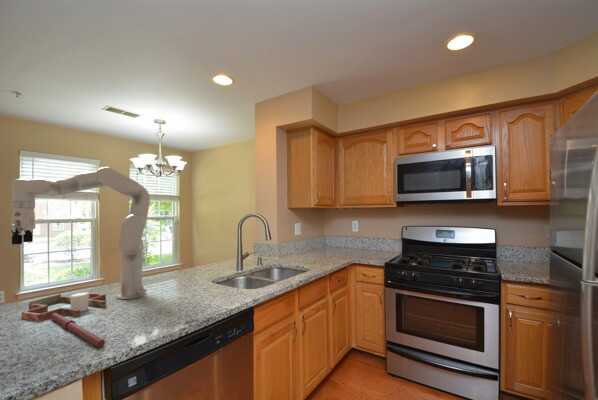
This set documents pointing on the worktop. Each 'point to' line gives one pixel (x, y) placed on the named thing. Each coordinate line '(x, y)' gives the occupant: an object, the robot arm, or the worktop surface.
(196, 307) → the worktop surface
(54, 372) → the worktop surface
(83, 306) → the white cylinder
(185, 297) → the worktop surface
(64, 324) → the red collared rod
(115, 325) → the worktop surface
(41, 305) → the box
